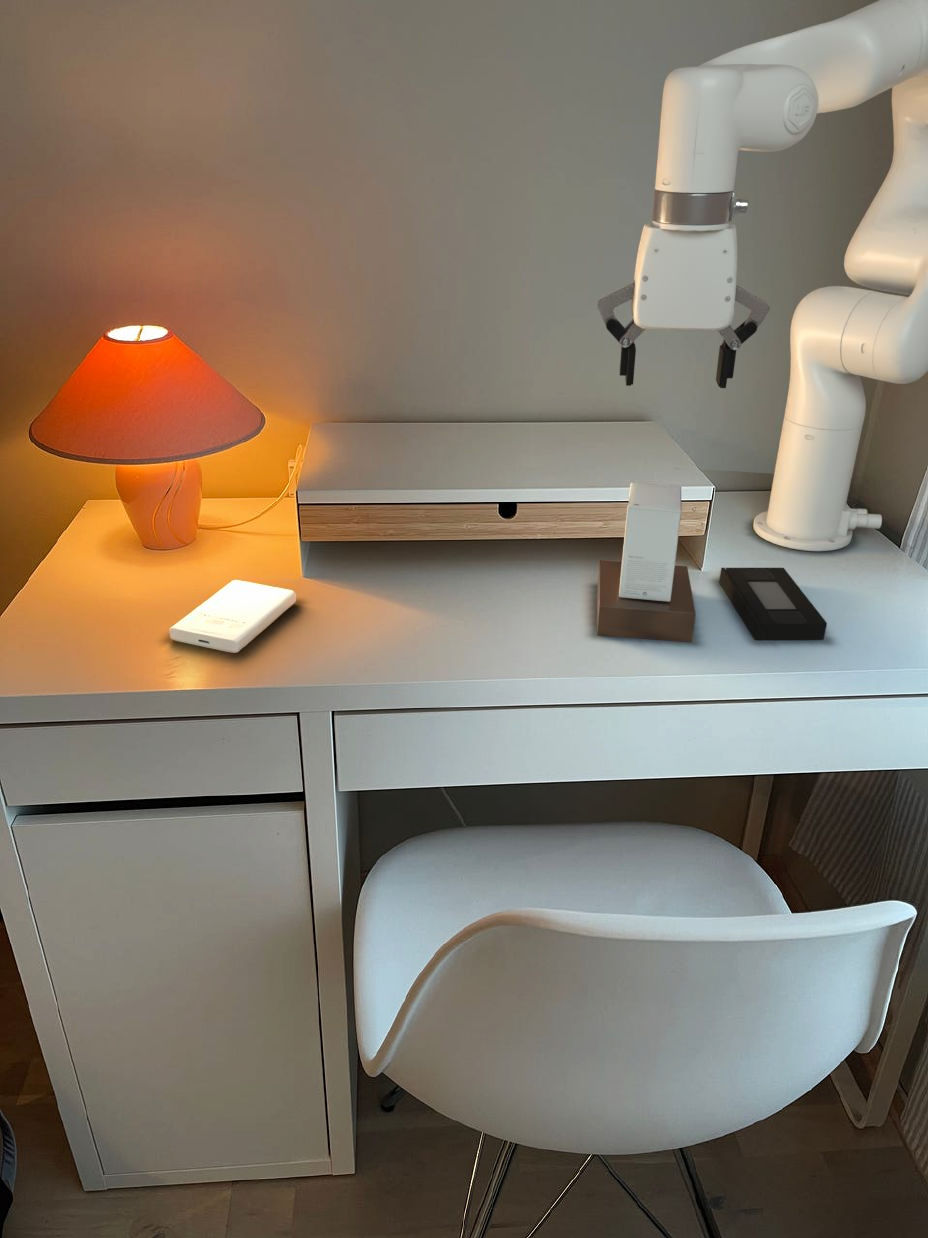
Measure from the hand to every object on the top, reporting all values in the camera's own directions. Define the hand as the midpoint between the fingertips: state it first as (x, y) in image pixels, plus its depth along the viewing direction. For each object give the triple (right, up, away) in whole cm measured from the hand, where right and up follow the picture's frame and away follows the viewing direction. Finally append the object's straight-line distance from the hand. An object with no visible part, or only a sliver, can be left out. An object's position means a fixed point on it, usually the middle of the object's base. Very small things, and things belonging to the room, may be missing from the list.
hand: (674, 383), depth 105 cm
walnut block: (-2, -24, +6) cm, 25 cm away
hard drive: (-47, -25, +2) cm, 54 cm away
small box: (-2, -22, +4) cm, 22 cm away
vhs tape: (+12, -24, +7) cm, 28 cm away
